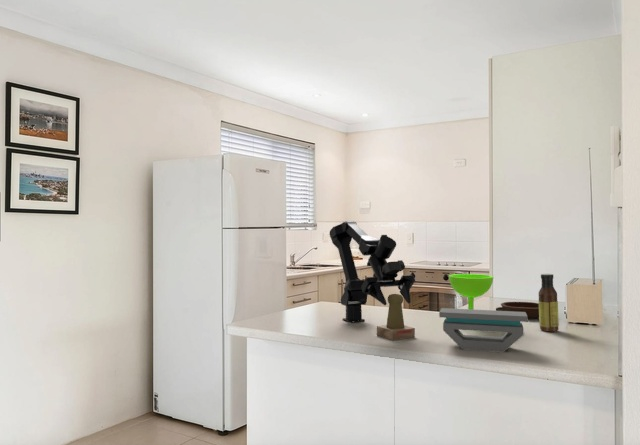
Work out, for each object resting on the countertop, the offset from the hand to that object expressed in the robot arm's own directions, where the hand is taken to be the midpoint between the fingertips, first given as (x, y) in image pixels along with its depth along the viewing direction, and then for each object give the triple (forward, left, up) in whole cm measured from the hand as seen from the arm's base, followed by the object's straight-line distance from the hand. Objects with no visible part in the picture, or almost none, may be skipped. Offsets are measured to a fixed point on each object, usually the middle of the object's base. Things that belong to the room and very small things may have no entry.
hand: (397, 303), depth 174 cm
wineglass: (-3, +37, -11) cm, 39 cm away
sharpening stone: (+25, +13, -11) cm, 30 cm away
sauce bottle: (+19, +52, -11) cm, 56 cm away
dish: (-4, +68, -11) cm, 69 cm away
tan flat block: (-1, 0, -11) cm, 11 cm away
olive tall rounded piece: (-2, 0, -8) cm, 8 cm away
